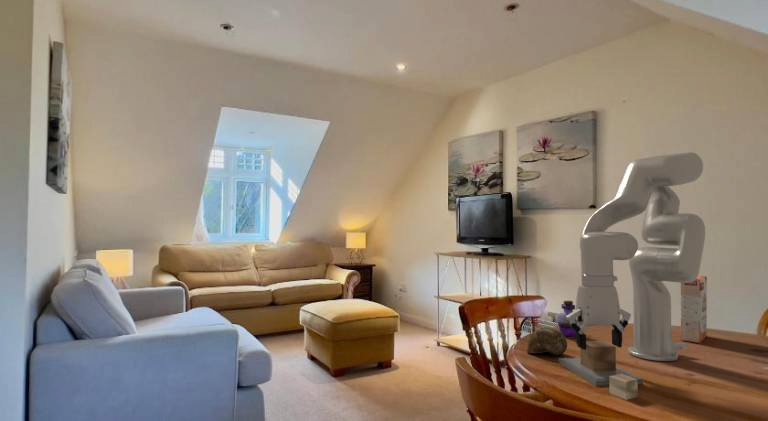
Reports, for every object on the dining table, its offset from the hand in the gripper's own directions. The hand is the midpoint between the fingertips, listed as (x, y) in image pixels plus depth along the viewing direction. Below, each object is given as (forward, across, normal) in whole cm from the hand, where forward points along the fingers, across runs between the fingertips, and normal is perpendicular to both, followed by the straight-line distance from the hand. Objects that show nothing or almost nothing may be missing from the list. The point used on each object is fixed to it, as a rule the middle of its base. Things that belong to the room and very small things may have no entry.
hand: (599, 347), depth 117 cm
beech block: (+6, +4, +16) cm, 17 cm away
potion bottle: (+8, -11, -36) cm, 39 cm away
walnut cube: (+5, +1, 0) cm, 5 cm away
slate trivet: (+6, +1, +1) cm, 7 cm away
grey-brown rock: (+7, +6, -17) cm, 19 cm away
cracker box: (+9, -52, -29) cm, 60 cm away
